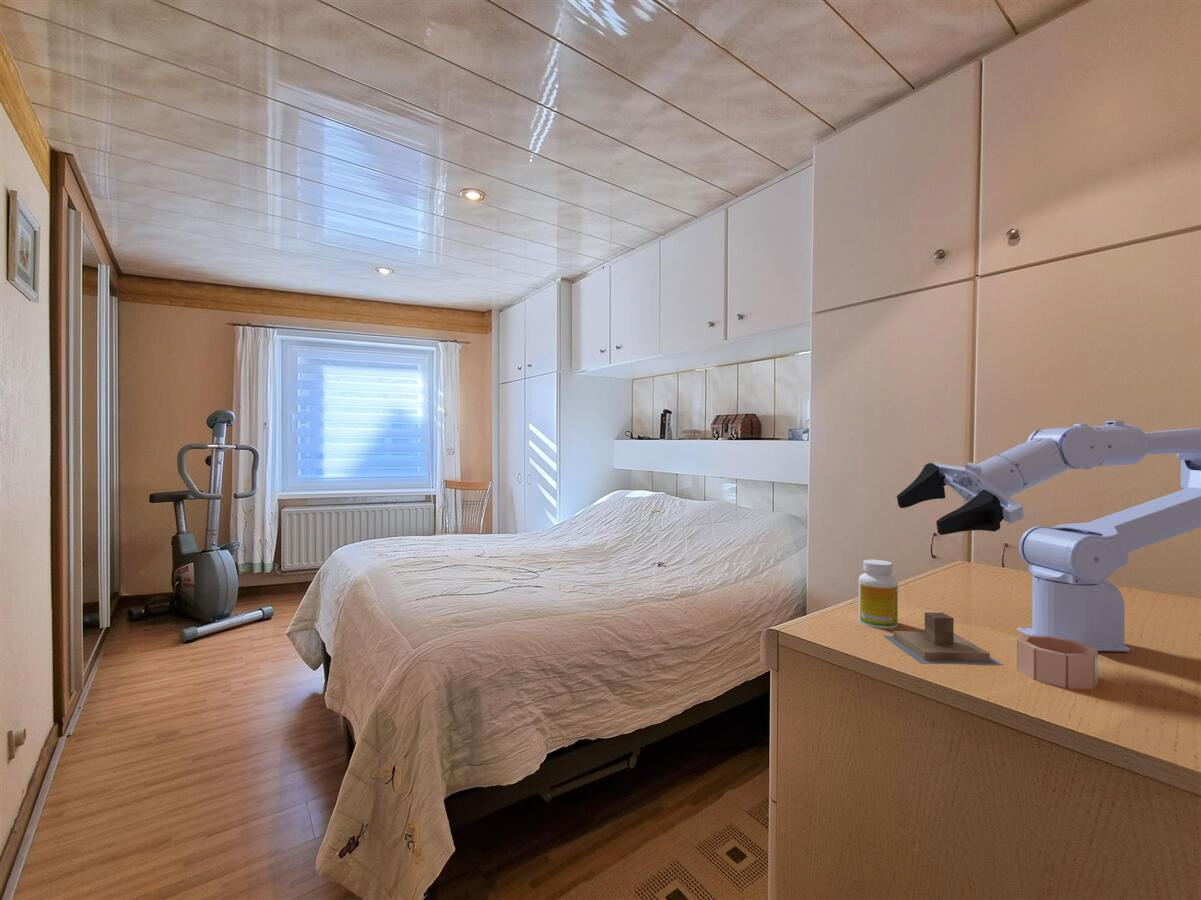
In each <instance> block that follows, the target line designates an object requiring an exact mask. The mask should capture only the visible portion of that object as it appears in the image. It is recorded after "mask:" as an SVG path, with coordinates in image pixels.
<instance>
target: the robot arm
mask: <svg viewBox="0 0 1201 900" xmlns="http://www.w3.org/2000/svg"><path fill="white" fill-rule="evenodd" d="M1162 454H1163V455H1164V454H1165V455H1166V454H1167V455H1169V454H1175V455H1176V459H1177V460H1179V461H1180V481H1179V482H1180V484H1179V485H1180V487H1181V488H1182V489H1180V490H1177V491H1175V492H1172V493H1169V494H1166V495H1163V496H1160V497H1158V498H1155V499H1151V500H1149V501H1146V502H1142V503H1139V504H1138V505H1135V506H1131V507H1129V508H1126V509H1122V510H1121V511H1120V510H1119V511H1117V512H1114V513H1111V514H1108V515H1106V516H1103V517H1100V518H1096V519H1094V520H1091V521H1089V522H1077V523H1076V522H1075V523H1065V524H1062V523H1061V524H1058V525H1055V526H1050V527H1049V526H1043V525H1037V526H1034V527H1030V528H1029V529H1027V530H1026V531H1025V532H1024V533H1022V536H1021V537H1020V539H1019V543H1018V552H1019V555H1020V557H1021V559H1022V560H1023V562H1024V564H1025V563H1026V565H1028V572H1029V573H1031V574H1032V575H1031V576H1032V579H1031V580H1032V584H1031V586H1032V588H1031V589H1032V590H1031V591H1032V595H1031V596H1032V599H1031V604H1032V605H1031V608H1032V609H1031V611H1032V613H1031V614H1032V615H1031V617H1032V619H1031V621H1032V622H1031V623H1032V624H1031V625H1032V626H1031V627H1030V628H1029V627H1017V628H1016V631H1018V632H1020V633H1022V634H1023V635H1046V636H1048V635H1049V636H1054V637H1059V638H1064V639H1069V640H1074V641H1076V642H1080V643H1083V644H1085V645H1087V646H1090V647H1092V648H1094V649H1097V650H1098V652H1130V651H1131V648H1130V647H1128V646H1126V645H1125V608H1126V607H1125V606H1126V605H1125V601H1124V597H1123V595H1122V593H1121V590H1119V588H1118V587H1117V586H1116V585H1115V584H1113V583H1112V582H1110V581H1108V580H1107V579H1108V578H1109V577H1110V576H1111V575H1112V574H1113V573H1114V572H1115V571H1116V570H1118V569H1119V568H1121V567H1123V566H1127V565H1128V564H1129V553H1130V552H1134V551H1136V550H1139V549H1142V548H1144V547H1148V546H1150V545H1153V544H1156V543H1159V542H1163V541H1165V540H1167V539H1171V538H1174V537H1177V536H1179V535H1182V534H1185V533H1188V532H1191V531H1194V530H1196V529H1199V528H1201V427H1197V428H1195V427H1194V428H1193V427H1192V428H1191V427H1190V428H1179V429H1177V428H1176V429H1167V430H1156V431H1146V432H1145V431H1143V430H1142V429H1141V428H1140V427H1138V426H1136V425H1134V424H1130V423H1129V424H1128V423H1125V421H1124V420H1121V419H1120V420H1110V421H1109V420H1106V421H1105V425H1088V423H1074V424H1073V426H1072V427H1053V428H1052V427H1050V428H1044V429H1041V430H1040V429H1035V430H1034V431H1033V432H1032V433H1031V434H1030V435H1029V436H1028V438H1027V440H1026V442H1024V443H1020V444H1018V445H1016V446H1013V447H1011V448H1010V449H1006V450H1005V451H1002V452H1001V453H998V454H996V455H994V456H992V457H990V458H987V459H986V460H983V461H981V462H978V463H976V464H975V463H973V462H971V461H970V462H968V463H965V466H957V465H951V464H944V463H942V462H939V461H936V462H934V463H933V462H928V463H926V464H924V465H923V468H922V470H921V472H920V473H919V474H918V476H917V477H916V478H915V479H914V480H913V481H912V483H910V484H909V485H908V486H907V487H906V488H905V489H903V490H902V491H901V492H900V493H898V494H897V495H896V499H897V506H898V507H899V508H900V509H906V508H910V507H913V506H914V505H917V504H919V503H922V502H925V501H931V500H939V499H941V500H944V499H946V492H945V491H946V490H945V486H949V487H950V488H952V489H953V491H954V492H956V493H957V494H958V495H959V496H960V497H961V498H962V499H963V500H965V501H966V503H964V505H962V506H960V507H958V508H957V509H955V510H952V511H951V512H949V513H947V514H945V515H943V516H941V517H940V518H938V519H937V520H936V522H935V524H936V530H937V534H938V535H940V536H944V535H945V536H946V535H949V534H955V533H960V532H968V531H969V532H971V531H988V532H997V531H999V530H1000V529H1001V523H1002V522H1003V520H1004V521H1005V522H1007V523H1008V524H1010V525H1013V524H1015V523H1016V522H1018V521H1020V520H1022V519H1024V506H1023V505H1022V504H1019V503H1018V502H1017V501H1015V500H1013V499H1012V498H1011V497H1012V496H1014V495H1017V494H1019V493H1021V492H1023V491H1025V490H1027V489H1029V488H1031V487H1034V486H1036V485H1038V484H1040V483H1043V482H1045V481H1047V480H1049V479H1051V478H1053V477H1055V476H1057V475H1060V474H1062V473H1063V472H1066V471H1067V470H1081V469H1082V470H1084V471H1085V470H1086V471H1089V470H1091V469H1094V468H1095V467H1110V466H1131V465H1134V464H1135V465H1136V464H1137V463H1140V462H1141V461H1143V459H1144V458H1145V457H1146V455H1162Z"/></svg>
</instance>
